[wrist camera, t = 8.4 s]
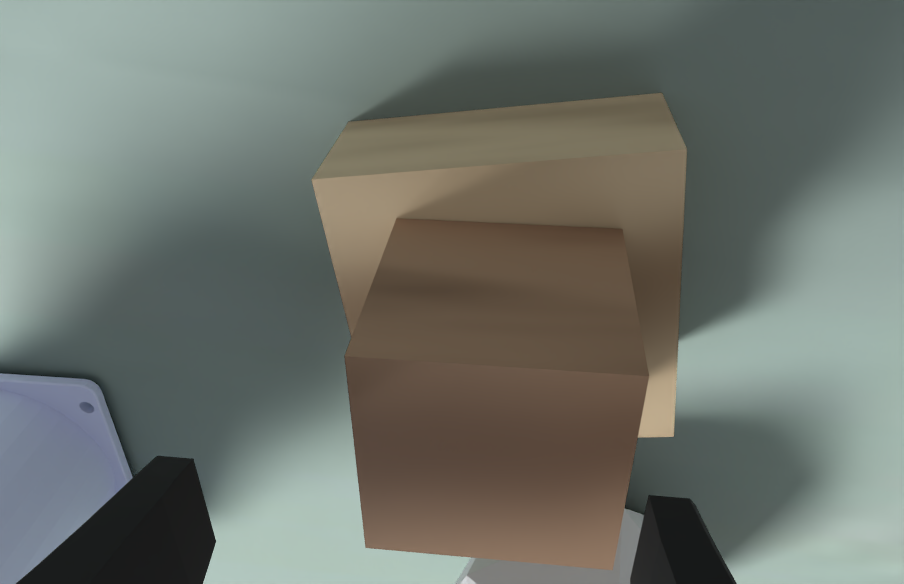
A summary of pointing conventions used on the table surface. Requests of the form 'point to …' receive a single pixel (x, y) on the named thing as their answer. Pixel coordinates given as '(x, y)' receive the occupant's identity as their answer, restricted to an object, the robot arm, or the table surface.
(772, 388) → the table surface
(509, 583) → the white faceted polyhedron
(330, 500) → the table surface
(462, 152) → the oak block
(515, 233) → the walnut cube
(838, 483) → the table surface
